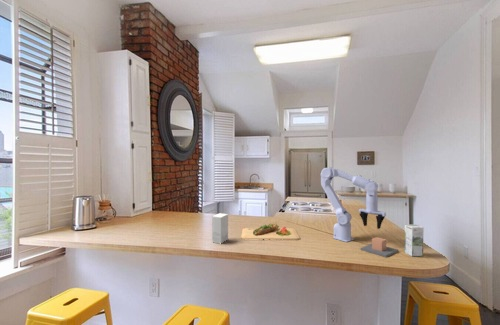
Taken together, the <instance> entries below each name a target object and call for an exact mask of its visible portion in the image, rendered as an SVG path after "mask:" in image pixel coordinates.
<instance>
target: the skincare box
mask: <svg viewBox="0 0 500 325" xmlns="http://www.w3.org/2000/svg"><path fill="white" fill-rule="evenodd" d="M211 222H212V223H211V226H212V228H211V229H212V230H211V232H212V233H211V243H212V242H215V243H214V244H217V243H222V244H224V243H225V242H227V241H229V214H228V213H221V212H219V213H216V214H215V215H212V217H211ZM226 240H227V241H226ZM224 241H225V242H224ZM223 242H224V243H223Z"/></svg>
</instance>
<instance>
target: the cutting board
mask: <svg viewBox="0 0 500 325" xmlns="http://www.w3.org/2000/svg"><path fill="white" fill-rule="evenodd" d="M241 230H242V231H241V236H240V239H241V238H242V239H280V240H279V241H299V239H301V238H300V236H299V234H298V232H297V231H296V229H295V228H294V227H293V228H292V227H287V226H283V227H279V225H278V224H277V223H276V222H275V223H274V222H273V223H269V224H265V223H264V224H263V225H261V226H259V227H244V228H242V229H241ZM242 239H241V240H242ZM282 239H283V240H282Z"/></svg>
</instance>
